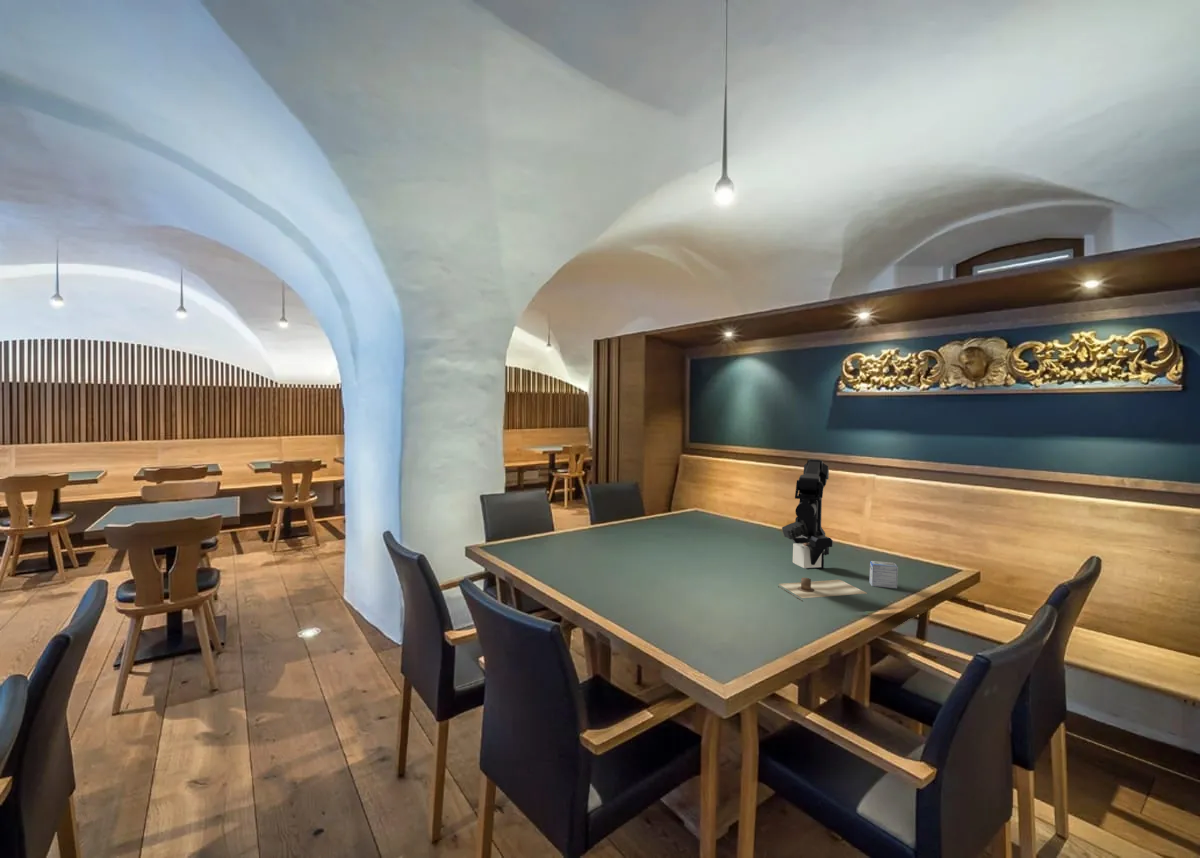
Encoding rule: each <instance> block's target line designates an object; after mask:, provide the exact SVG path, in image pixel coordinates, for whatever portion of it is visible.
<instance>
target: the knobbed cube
mask: <svg viewBox="0 0 1200 858" xmlns="http://www.w3.org/2000/svg"><path fill="white" fill-rule="evenodd" d="M809 544H810V543H794V542H793V544H792V563H793V564H795V565H796V566H798V567H801V568H803V569H807V568H815V567H821V559H822V553H821V555H820V556H819V558H818V560H817V562H816V563H815V565H811V558H810V549H809V547H808V546H807V545H809Z"/></svg>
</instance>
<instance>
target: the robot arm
mask: <svg viewBox="0 0 1200 858" xmlns="http://www.w3.org/2000/svg"><path fill="white" fill-rule="evenodd" d="M829 468H830V467H829V466H828V465H827V464H825V463H824V462H823V460H821V459H816V458H815V459H814V458H810V459H807V462H806V463H805V464H804V466H803V473H802V474H801V475H800V476H799V478H798V479H797V480H796V485H795V493H794V495H795V496H794V499H797V500H799V502H798V505H797V506H796V508H795V511H794V513H795V516H796V517H795V520H794V522H792V523H789V524H786V525H784V526H782V527H781V530H782V533H783V537H784V538H787V539H789V540H791V541H792V542H793V543H810V544H809V545H807V546H808V547H809V549H810V558H811V565H815V563H816V562H817V560H818V558H819V556H820V555H821V553H822V559H821V567H815V568H806V569H807V570H824V569H825V567H824V566H825V559H824V558H825V556H827V555H829V554H830V548H832V547H833V546H834V545H833V544H834V542H833V538H831V537H829V536H827V535H826V532H825V531H824V528H823V527H822V513H823V512H822V510H823V509H822V505H823V504H822V501H823V499H822V498H823V496H824V488H825V486H826V485H827V480H830V479H829V478H830V471H829Z"/></svg>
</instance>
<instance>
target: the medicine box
mask: <svg viewBox="0 0 1200 858" xmlns="http://www.w3.org/2000/svg"><path fill="white" fill-rule="evenodd" d="M898 574H899V566H898V565H897V564H896V563H895V562H892V561H891V562H890V561H881V560H880V561H877V560H870V562H869V580H868V581H869V584H870V585H871V587H876V588H877V587H879V588H890V589H898V577H899V575H898Z"/></svg>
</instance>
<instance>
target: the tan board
mask: <svg viewBox="0 0 1200 858" xmlns="http://www.w3.org/2000/svg"><path fill="white" fill-rule="evenodd" d="M800 581H801V582H785V583H778V586H777V587H778V588H779V589H781V590H783V591H784V592H786V593H787V594H789V595H791V596H792V597H794V598H796V599H798V600H799V601H801V602H803V600H802V599H812V598H813V599H814V598H825V597H838V596H839V597H840V596H848V595H850V596H851V595H864V594H865V595H866V594H867V592H866V591H864V590H862V589H859V588H858V587H856V586H853V585H851V584H849V583H847V582H845V581H844V580H841V579H832V580H831V579H829V580H816V581H815V580H814V581H813V580H812V579H811V578H808V577H801V580H800ZM792 593H793V594H792Z"/></svg>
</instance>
